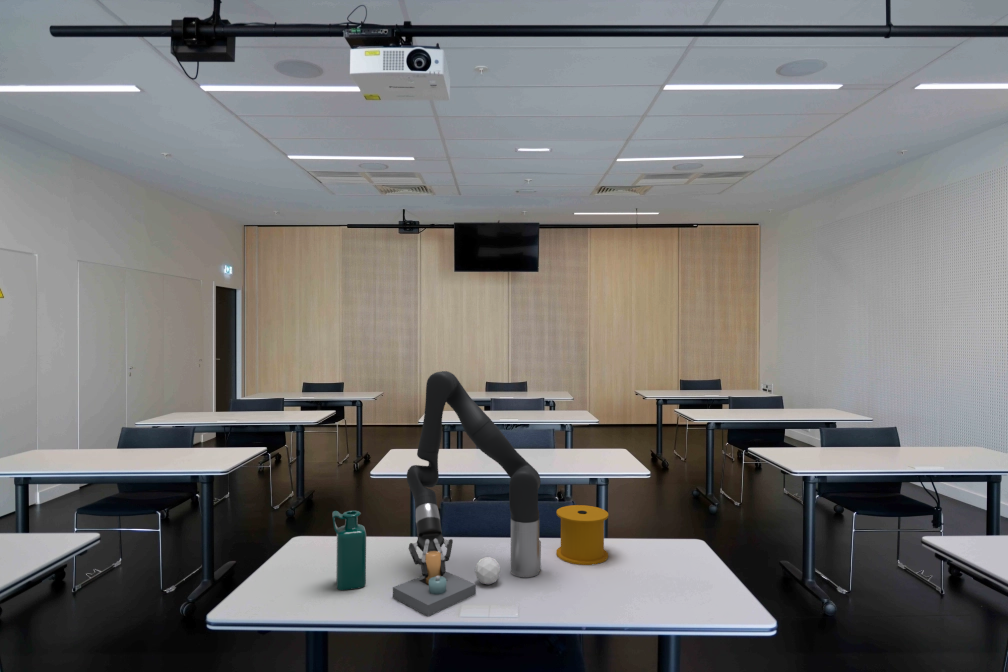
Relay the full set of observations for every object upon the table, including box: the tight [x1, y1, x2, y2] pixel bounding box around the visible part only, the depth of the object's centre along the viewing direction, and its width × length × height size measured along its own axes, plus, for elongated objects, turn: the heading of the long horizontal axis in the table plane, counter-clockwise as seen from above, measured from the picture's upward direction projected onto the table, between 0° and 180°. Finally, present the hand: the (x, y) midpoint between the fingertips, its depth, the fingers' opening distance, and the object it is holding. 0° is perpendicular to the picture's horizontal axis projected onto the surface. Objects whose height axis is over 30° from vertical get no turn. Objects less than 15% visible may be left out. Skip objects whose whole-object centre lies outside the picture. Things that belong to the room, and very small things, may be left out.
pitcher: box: [332, 510, 367, 591], centre depth 169 cm, size 10×8×22 cm
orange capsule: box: [426, 551, 441, 585], centre depth 165 cm, size 4×4×10 cm
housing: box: [392, 571, 477, 617], centre depth 161 cm, size 18×16×7 cm
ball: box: [474, 556, 501, 586], centre depth 170 cm, size 8×8×8 cm
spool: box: [555, 504, 609, 566], centre depth 193 cm, size 18×18×15 cm
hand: (434, 575), depth 163 cm, fingers closed on orange capsule, 4 cm apart
